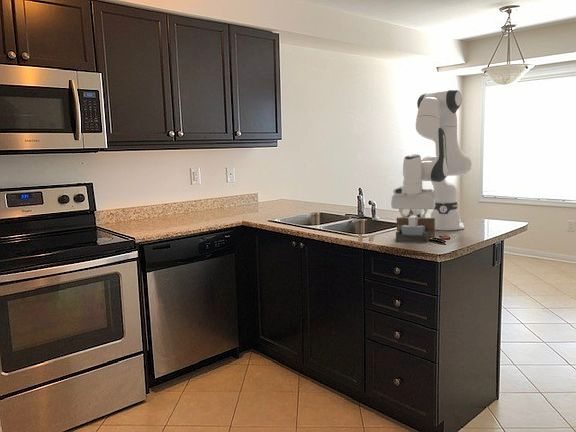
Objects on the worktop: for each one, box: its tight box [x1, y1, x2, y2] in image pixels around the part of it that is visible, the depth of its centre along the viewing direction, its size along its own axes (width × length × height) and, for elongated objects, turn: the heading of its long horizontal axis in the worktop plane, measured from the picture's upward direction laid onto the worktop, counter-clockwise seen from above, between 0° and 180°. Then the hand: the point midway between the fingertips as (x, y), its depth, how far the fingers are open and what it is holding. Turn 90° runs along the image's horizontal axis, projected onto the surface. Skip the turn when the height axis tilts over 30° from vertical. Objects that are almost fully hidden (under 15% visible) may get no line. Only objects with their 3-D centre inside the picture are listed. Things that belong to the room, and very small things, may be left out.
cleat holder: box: [395, 216, 436, 243], centre depth 224 cm, size 10×18×10 cm, turn 62°
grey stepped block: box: [402, 216, 425, 236], centre depth 224 cm, size 6×10×12 cm, turn 61°
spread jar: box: [402, 209, 423, 218], centre depth 292 cm, size 12×11×12 cm
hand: (413, 218), depth 223 cm, fingers open, 8 cm apart
